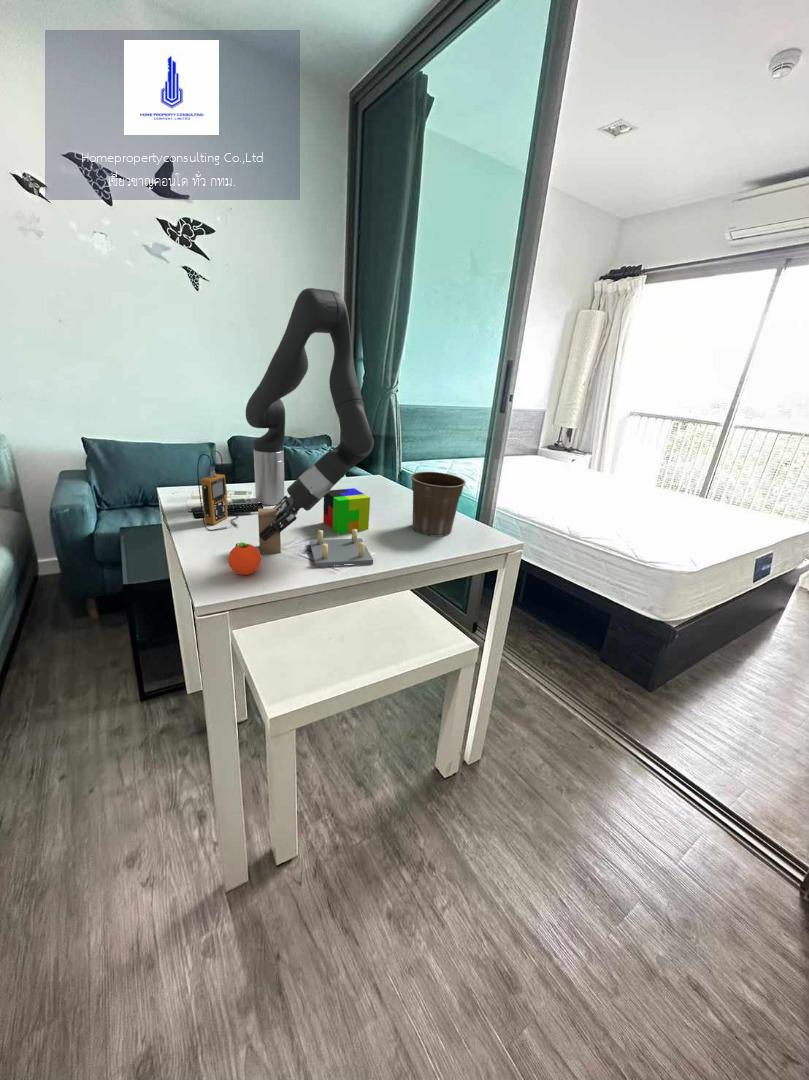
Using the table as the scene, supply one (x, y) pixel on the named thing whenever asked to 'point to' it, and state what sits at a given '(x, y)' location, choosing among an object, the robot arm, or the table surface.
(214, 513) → the multimeter
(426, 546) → the table surface
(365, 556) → the pin plate
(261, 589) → the table surface
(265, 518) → the walnut block
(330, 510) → the puzzle toy
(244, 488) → the table surface
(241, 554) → the clementine
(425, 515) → the plant pot
